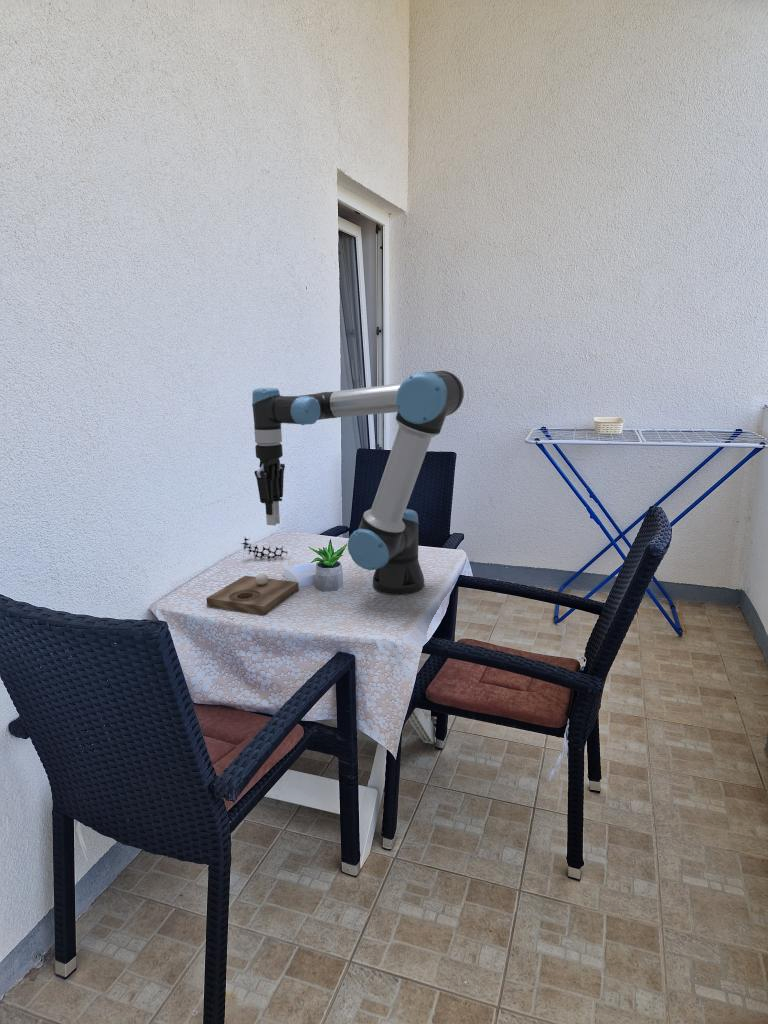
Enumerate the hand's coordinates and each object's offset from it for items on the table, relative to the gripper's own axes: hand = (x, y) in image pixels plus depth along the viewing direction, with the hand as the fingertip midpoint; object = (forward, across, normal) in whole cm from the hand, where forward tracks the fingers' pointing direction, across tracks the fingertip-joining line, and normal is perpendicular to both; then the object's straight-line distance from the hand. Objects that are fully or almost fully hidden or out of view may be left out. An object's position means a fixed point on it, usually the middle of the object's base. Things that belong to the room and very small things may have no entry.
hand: (273, 523), depth 190 cm
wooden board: (+18, +12, 0) cm, 22 cm away
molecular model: (+19, -18, -15) cm, 30 cm away
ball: (+14, +8, 0) cm, 16 cm away
